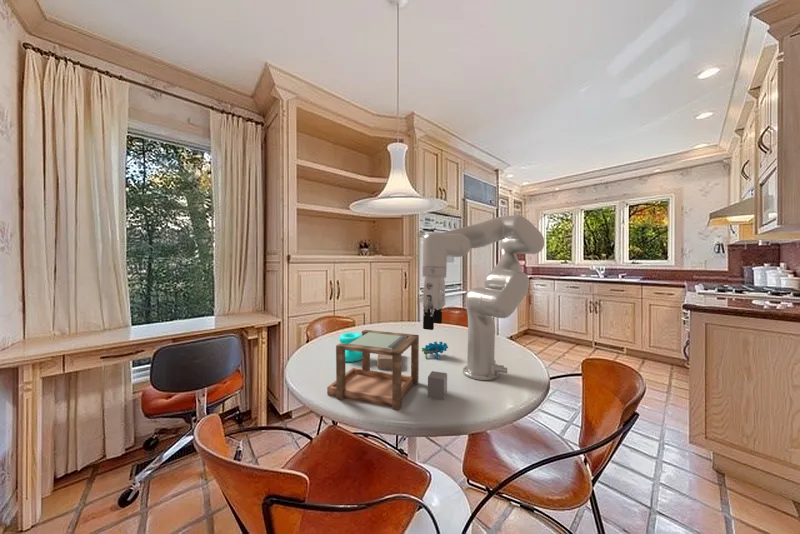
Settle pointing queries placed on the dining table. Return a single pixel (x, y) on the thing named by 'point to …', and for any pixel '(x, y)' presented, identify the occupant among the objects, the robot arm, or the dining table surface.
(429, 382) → the grey squarish block
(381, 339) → the trapdoor
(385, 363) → the brick
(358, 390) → the frame
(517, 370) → the dining table surface
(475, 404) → the dining table surface
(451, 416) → the dining table surface
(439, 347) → the gear
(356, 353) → the donuts
